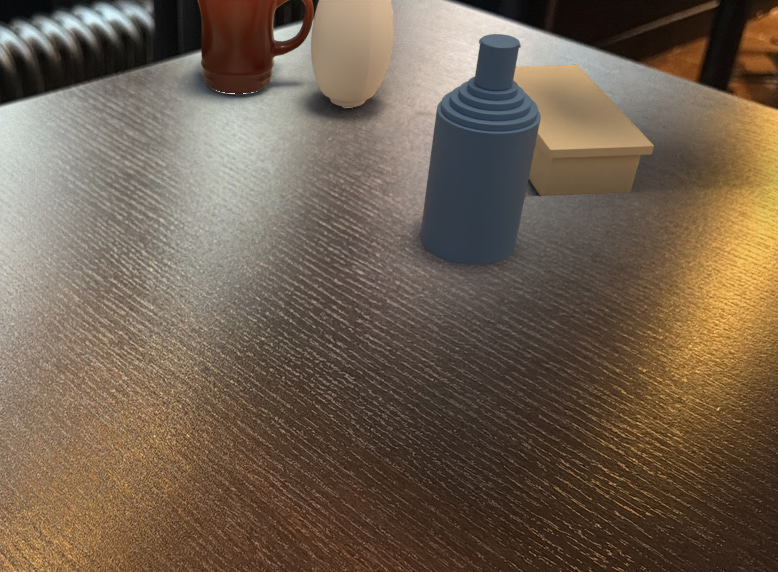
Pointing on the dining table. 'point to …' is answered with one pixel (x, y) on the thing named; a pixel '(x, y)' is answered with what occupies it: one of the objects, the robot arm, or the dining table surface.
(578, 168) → the sill
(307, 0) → the mug
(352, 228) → the dining table surface
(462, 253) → the bottle
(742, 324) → the dining table surface
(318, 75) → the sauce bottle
